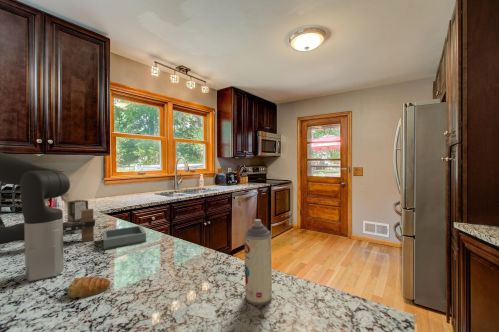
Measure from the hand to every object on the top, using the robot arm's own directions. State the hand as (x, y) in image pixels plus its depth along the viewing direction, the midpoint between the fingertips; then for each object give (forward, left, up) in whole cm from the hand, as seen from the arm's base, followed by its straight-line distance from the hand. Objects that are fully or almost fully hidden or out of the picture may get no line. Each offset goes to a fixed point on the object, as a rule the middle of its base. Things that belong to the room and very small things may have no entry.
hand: (94, 222), depth 107 cm
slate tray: (-11, -11, -8) cm, 18 cm away
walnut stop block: (0, +3, -8) cm, 8 cm away
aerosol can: (-82, -36, -8) cm, 90 cm away
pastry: (-52, +1, -8) cm, 53 cm away
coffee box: (+22, +8, -8) cm, 25 cm away
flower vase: (+20, +21, -8) cm, 30 cm away
